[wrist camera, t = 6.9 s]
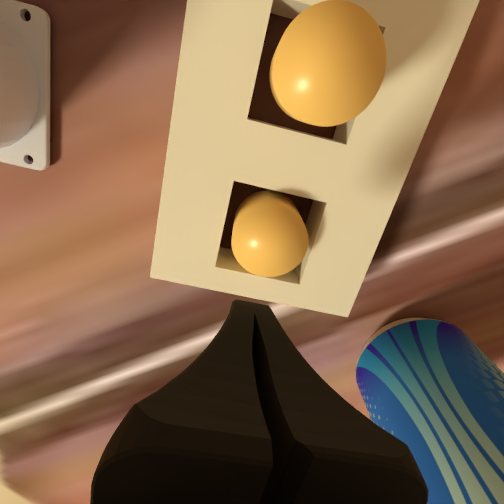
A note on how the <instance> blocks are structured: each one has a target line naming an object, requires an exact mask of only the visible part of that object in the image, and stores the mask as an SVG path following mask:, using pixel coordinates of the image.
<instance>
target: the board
mask: <svg viewBox="0 0 504 504" xmlns="http://www.w3.org/2000/svg"><path fill="white" fill-rule="evenodd" d="M323 1H326V0H187V6H186V14H185V21H184V28H183V36H182V43H181V51H180V58H179V66H178V73H177V80H176V88H175V95H174V103H173V110H172V118H171V125H170V132H169V140H168V147H167V155H166V162H165V169H164V177H163V184H162V192H161V199H160V207H159V214H158V221H157V229H156V236H155V244H154V251H153V259H152V266H151V273H150V277H151V278H156V279H161V280H166V281H171V282H176V283H181V284H186V285H191V286H196V287H201V288H206V289H211V290H216V291H220V292H225V293H230V294H235V295H240V296H245V297H250V298H255V299H260V300H265V301H270V302H275V303H280V304H285V305H290V306H295V307H300V308H305V309H309V310H314V311H319V312H324V313H329V314H334V315H339V316H344V317H348V315H349V313H350V311H351V308H352V306H353V303H354V301H355V299H356V296H357V294H358V291H359V289H360V287H361V284H362V282H363V279H364V277H365V275H366V272H367V270H368V267H369V265H370V263H371V260H372V258H373V255H374V253H375V251H376V248H377V246H378V243H379V241H380V239H381V236H382V234H383V231H384V229H385V227H386V224H387V222H388V219H389V217H390V215H391V212H392V210H393V207H394V205H395V203H396V200H397V198H398V195H399V193H400V191H401V188H402V186H403V183H404V181H405V179H406V176H407V174H408V171H409V169H410V167H411V164H412V162H413V159H414V157H415V155H416V152H417V150H418V147H419V145H420V143H421V140H422V138H423V135H424V133H425V131H426V128H427V126H428V123H429V121H430V119H431V116H432V114H433V111H434V109H435V107H436V104H437V102H438V99H439V97H440V95H441V92H442V90H443V87H444V85H445V83H446V80H447V78H448V75H449V73H450V71H451V68H452V66H453V63H454V61H455V59H456V56H457V54H458V51H459V49H460V47H461V44H462V42H463V39H464V37H465V35H466V32H467V30H468V27H469V25H470V23H471V20H472V18H473V15H474V13H475V11H476V8H477V6H478V3H479V1H480V0H344V1H349V2H352V3H354V4H357V5H358V6H360V7H362V8H363V9H365V10H366V11H367V12H368V13H369V14H370V15H371V16H372V17H373V18H374V19H375V21H376V22H377V24H378V26H379V28H380V30H381V32H382V34H383V38H384V41H385V46H386V57H387V58H386V69H385V74H384V78H383V81H382V84H381V86H380V89H379V91H378V93H377V94H376V96H375V98H374V99H373V101H372V102H371V103H370V104H369V106H368V107H367V108H366V109H365V110H364V111H363V112H362V113H360V114H359V115H358V116H356V117H355V118H353V119H352V120H350V121H348V122H345V123H343V124H340V125H337V127H336V130H335V133H334V136H333V139H330V138H326V137H322V136H318V135H314V134H310V133H306V132H302V131H299V130H295V129H291V128H287V127H283V126H279V125H275V124H271V123H267V122H263V121H260V120H256V119H252V118H248V113H249V108H250V104H251V99H252V95H253V90H254V85H255V81H256V76H257V71H258V67H259V62H260V58H261V53H262V48H263V44H264V39H265V35H266V30H267V25H268V21H269V16H270V13H273V14H276V15H280V16H283V17H287V18H290V19H295V18H296V17H297V16H298V15H299V14H300V13H301V12H302V11H304V10H305V9H307V8H308V7H310V6H312V5H314V4H316V3H319V2H323ZM234 181H237V182H241V183H245V184H249V185H254V186H258V187H262V188H266V189H271V190H275V191H279V192H283V193H287V194H292V195H296V196H300V197H304V198H309V199H313V203H312V206H311V209H310V212H309V215H308V218H307V221H306V225H305V227H306V229H307V232H308V241H309V242H308V248H307V252H306V254H305V256H304V258H303V260H302V261H301V262H300V264H299V265H298V266H297V267H295V268H294V269H293V270H291V271H290V272H288V273H286V274H283V275H280V276H276V277H262V276H258V275H255V274H252V273H250V272H249V271H247V270H246V269H244V268H243V267H242V266H241V265H240V264H239V263H238V261H237V260H236V258H235V256H234V254H233V251H232V249H228V248H223V247H219V246H220V242H221V237H222V233H223V228H224V223H225V219H226V214H227V210H228V205H229V200H230V196H231V191H232V187H233V182H234Z"/></svg>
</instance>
